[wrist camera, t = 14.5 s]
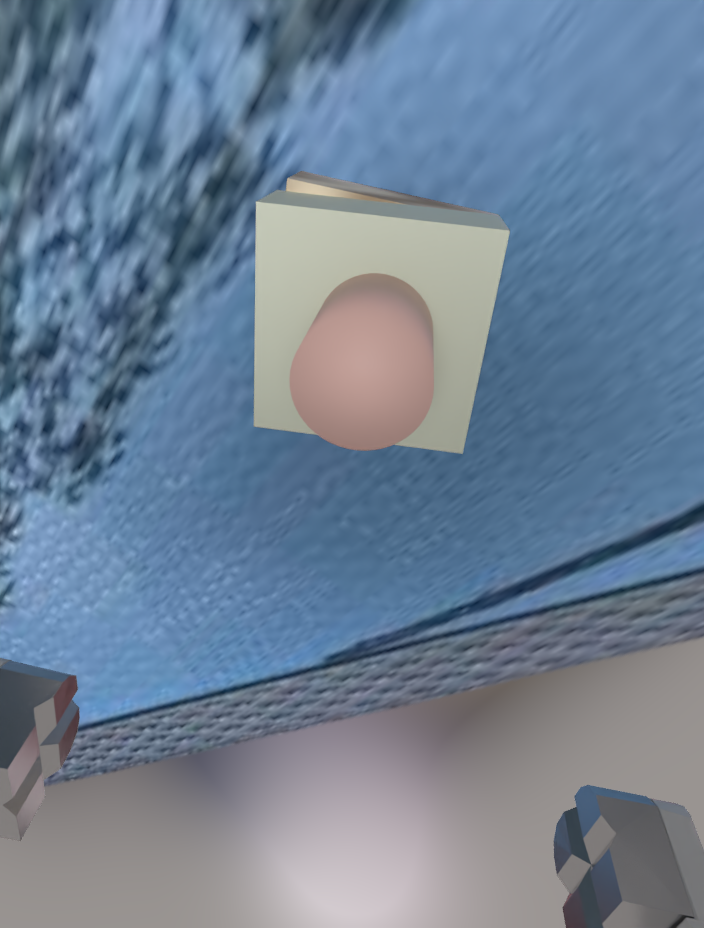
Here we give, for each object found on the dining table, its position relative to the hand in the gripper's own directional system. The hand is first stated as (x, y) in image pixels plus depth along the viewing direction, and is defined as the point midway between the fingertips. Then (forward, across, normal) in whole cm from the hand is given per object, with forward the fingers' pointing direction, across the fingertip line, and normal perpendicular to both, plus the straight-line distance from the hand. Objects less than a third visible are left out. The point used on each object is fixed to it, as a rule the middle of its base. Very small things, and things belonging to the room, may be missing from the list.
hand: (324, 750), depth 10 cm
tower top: (+23, +1, 0) cm, 23 cm away
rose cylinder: (+19, +1, 0) cm, 19 cm away
